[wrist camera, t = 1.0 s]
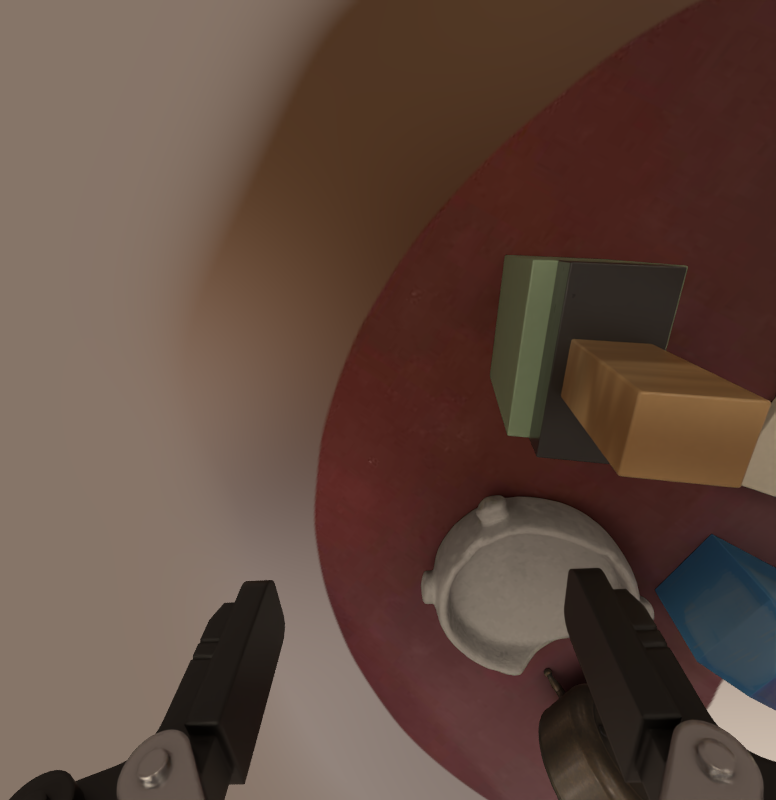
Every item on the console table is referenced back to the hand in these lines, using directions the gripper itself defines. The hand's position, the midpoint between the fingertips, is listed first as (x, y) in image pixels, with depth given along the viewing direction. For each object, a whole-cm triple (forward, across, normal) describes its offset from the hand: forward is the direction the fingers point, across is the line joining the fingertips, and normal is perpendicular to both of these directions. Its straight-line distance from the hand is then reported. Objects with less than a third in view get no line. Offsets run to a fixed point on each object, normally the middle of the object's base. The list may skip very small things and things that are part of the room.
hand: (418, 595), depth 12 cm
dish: (+18, -8, +17) cm, 26 cm away
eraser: (+10, -8, -3) cm, 13 cm away
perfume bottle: (+16, -22, +18) cm, 33 cm away
